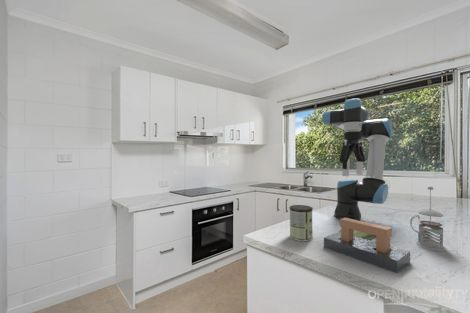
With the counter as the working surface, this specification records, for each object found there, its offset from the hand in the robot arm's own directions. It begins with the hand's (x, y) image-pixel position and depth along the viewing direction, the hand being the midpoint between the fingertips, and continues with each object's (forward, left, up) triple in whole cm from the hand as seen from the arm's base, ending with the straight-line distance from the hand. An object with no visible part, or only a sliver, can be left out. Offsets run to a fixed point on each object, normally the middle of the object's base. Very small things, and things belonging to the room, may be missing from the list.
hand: (352, 175), depth 110 cm
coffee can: (-12, -24, -29) cm, 39 cm away
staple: (+14, -20, -29) cm, 37 cm away
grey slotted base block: (+14, -20, -29) cm, 37 cm away
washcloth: (+2, +3, -29) cm, 29 cm away
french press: (+26, +11, -29) cm, 40 cm away
